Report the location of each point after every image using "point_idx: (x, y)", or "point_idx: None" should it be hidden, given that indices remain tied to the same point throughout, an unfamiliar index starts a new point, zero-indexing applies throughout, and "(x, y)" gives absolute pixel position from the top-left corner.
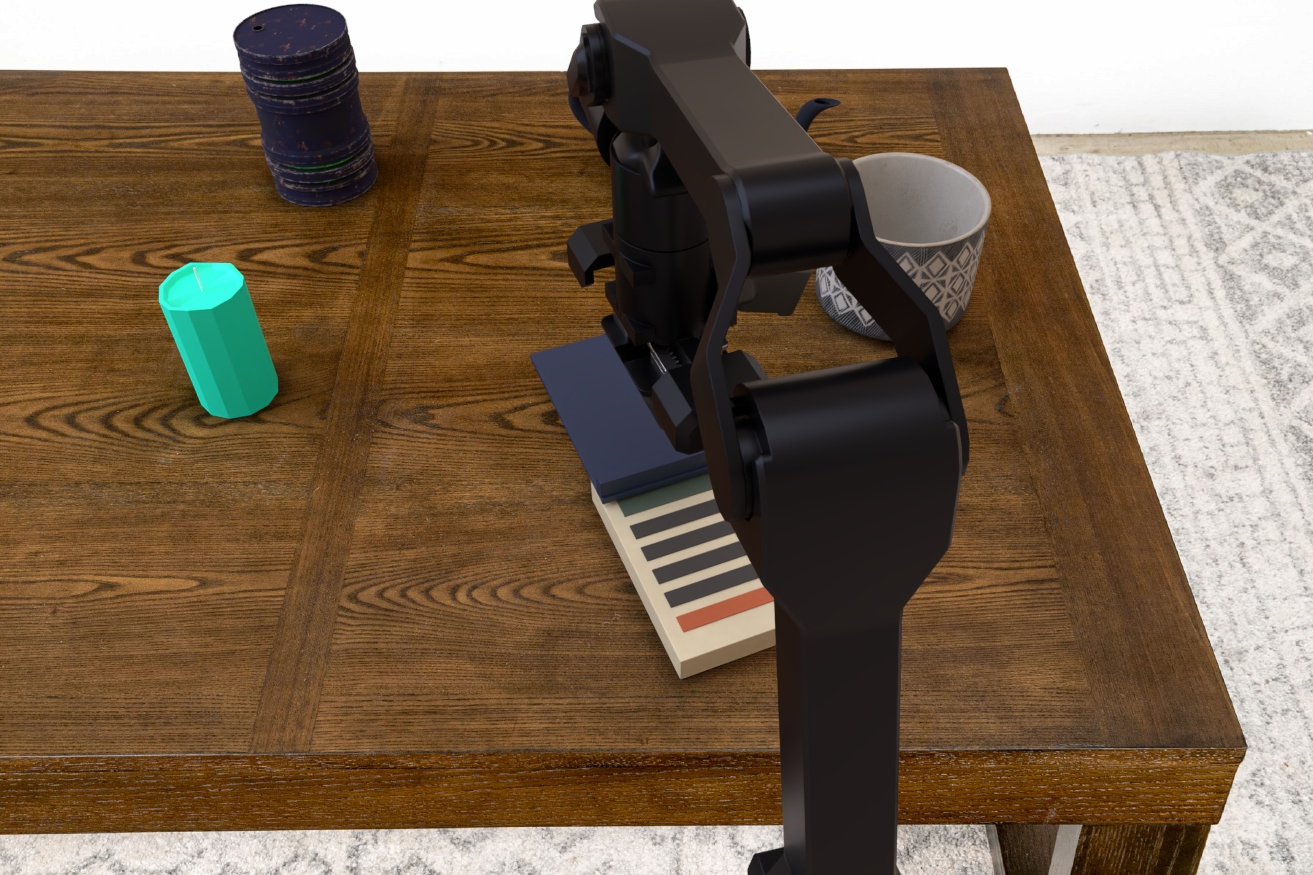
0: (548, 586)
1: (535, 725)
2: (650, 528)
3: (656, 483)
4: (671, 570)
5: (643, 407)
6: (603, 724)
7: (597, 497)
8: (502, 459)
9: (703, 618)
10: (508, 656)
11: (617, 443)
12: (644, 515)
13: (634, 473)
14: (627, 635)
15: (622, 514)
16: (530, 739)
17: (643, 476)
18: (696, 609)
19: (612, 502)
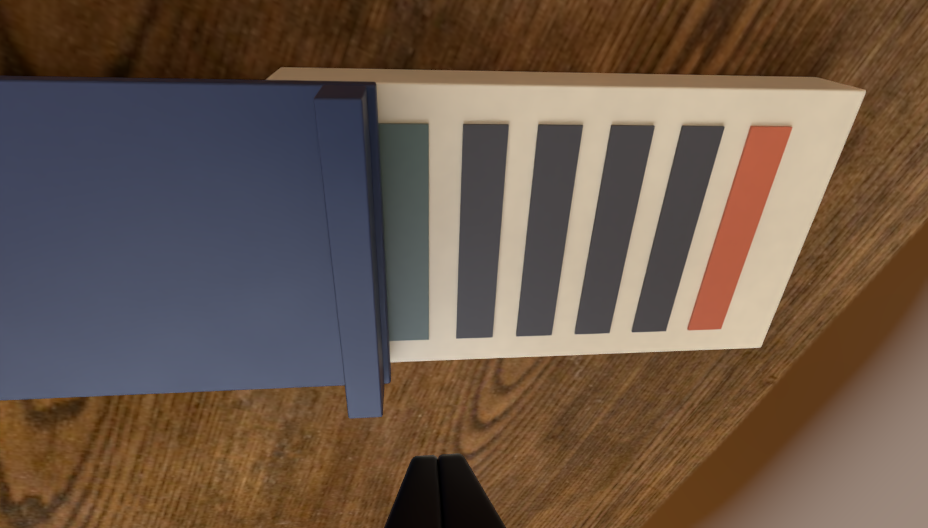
0: (474, 422)
1: (665, 471)
2: (481, 307)
3: (383, 277)
4: (597, 306)
5: (88, 220)
6: (716, 413)
7: None
8: (169, 429)
9: (722, 292)
10: (558, 479)
11: (224, 316)
12: (441, 305)
13: (376, 352)
14: (616, 355)
15: (420, 339)
16: (678, 477)
17: (378, 322)
18: (695, 294)
19: None
